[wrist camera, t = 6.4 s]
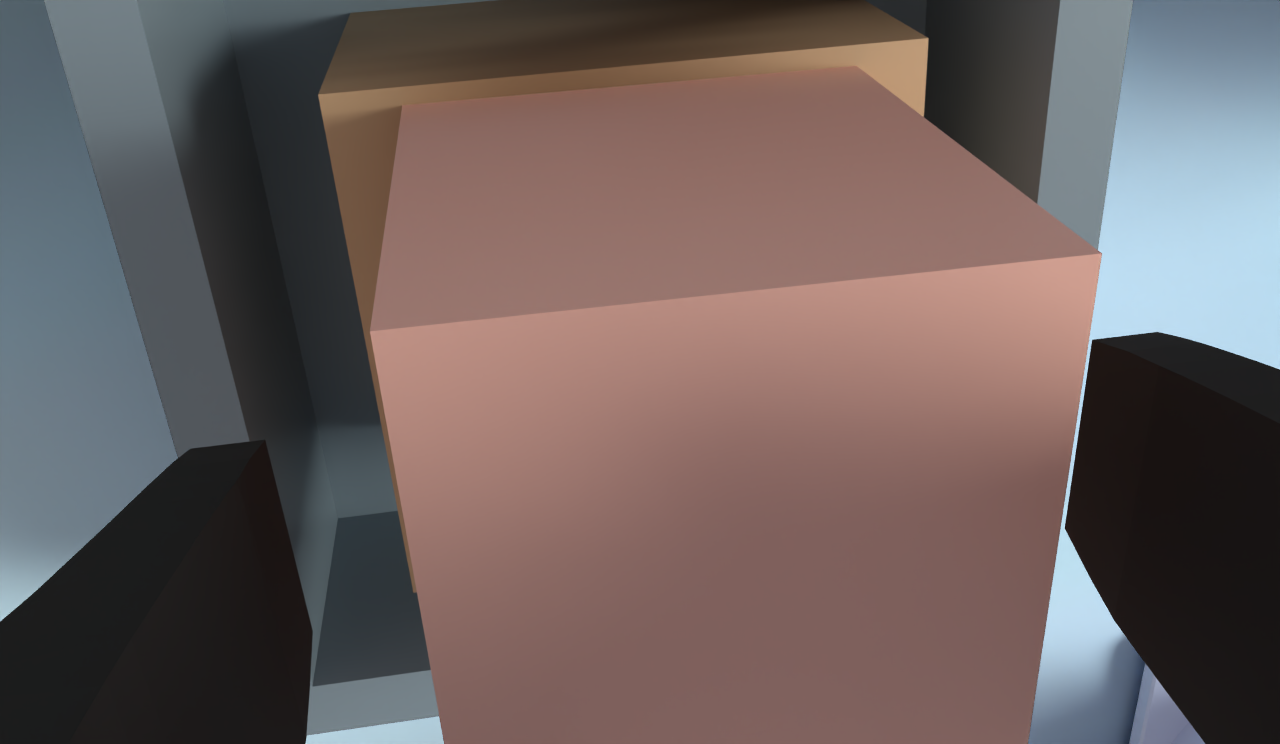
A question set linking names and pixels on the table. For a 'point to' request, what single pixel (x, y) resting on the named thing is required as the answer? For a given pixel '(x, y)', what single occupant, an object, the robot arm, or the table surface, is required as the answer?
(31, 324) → the table surface
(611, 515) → the coral box
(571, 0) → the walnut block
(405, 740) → the table surface
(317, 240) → the tote
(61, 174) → the table surface
